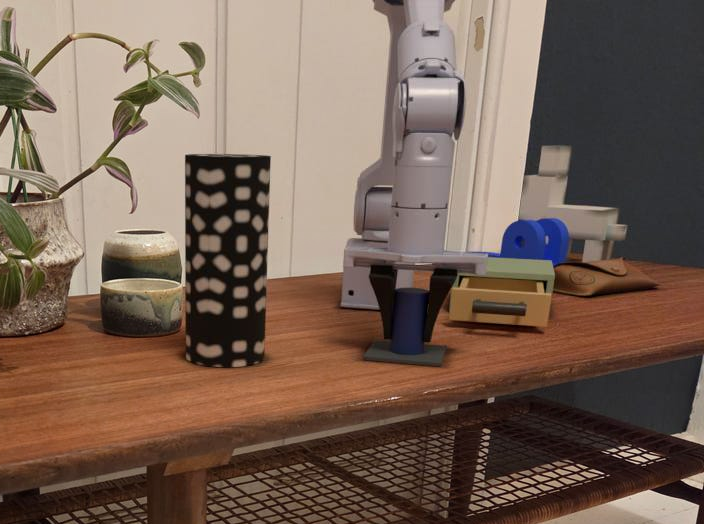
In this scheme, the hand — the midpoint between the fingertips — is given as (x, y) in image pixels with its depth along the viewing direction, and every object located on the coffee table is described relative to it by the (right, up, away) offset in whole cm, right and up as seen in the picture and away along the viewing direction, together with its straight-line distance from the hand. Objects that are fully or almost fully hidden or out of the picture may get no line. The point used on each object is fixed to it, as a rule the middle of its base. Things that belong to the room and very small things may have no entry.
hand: (407, 339), depth 94 cm
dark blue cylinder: (0, -1, 0) cm, 1 cm away
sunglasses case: (+39, +14, +41) cm, 58 cm away
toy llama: (+43, +24, +65) cm, 82 cm away
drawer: (+15, +5, +16) cm, 22 cm away
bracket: (+29, +21, +58) cm, 68 cm away
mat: (0, -2, +1) cm, 2 cm away
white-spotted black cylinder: (-20, -2, -1) cm, 20 cm away
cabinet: (+18, +9, +27) cm, 34 cm away
